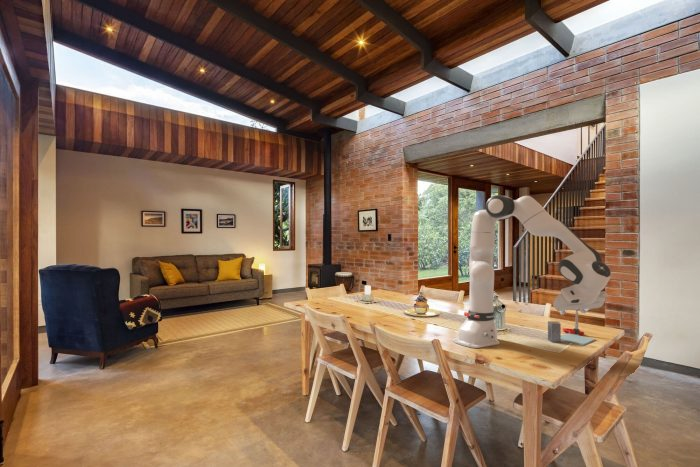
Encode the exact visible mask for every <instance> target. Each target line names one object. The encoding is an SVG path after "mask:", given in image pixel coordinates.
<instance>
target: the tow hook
mask: <svg viewBox="0 0 700 467" xmlns="http://www.w3.org/2000/svg"><path fill="white" fill-rule="evenodd" d="M562 332H567V333H570V334H574V335H584V334H585V331H582V330H580V329H579V309H577V310H575V323H574V328H562Z"/></svg>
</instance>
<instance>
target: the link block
mask: <svg viewBox="0 0 700 467" xmlns="http://www.w3.org/2000/svg"><path fill="white" fill-rule="evenodd" d="M561 325H562V324H561V323H560V322H558V321H549V320H548V321H547V340H548V341H549V342H551V343H561V341H562V340H561V336H562V335H561V331H562V330H561V328H562V326H561Z"/></svg>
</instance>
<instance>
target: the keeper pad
mask: <svg viewBox="0 0 700 467" xmlns="http://www.w3.org/2000/svg"><path fill="white" fill-rule="evenodd" d="M561 341H562V342H567V343H571V344H576V345H581V346H586V345H587V344H590V343H592V342H594V341H596V338H593V337H588V336H582V335H580V334H573V333H569V332H567V333H565V334H563V335H561Z"/></svg>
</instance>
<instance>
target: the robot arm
mask: <svg viewBox="0 0 700 467" xmlns="http://www.w3.org/2000/svg"><path fill="white" fill-rule="evenodd" d="M513 217H515V218H516V219H517V220H518V221H519V222H520V223H521V225H522V226H523V227H524V228H525V230H526V231H527V232H529V234H531V235H533V236H536V237H553V238H556V239H559V240H560V241H561V242H562V243H564V245H566V247H568V249H570V251H572V254H570V255H568V256H566V257H564V258H563V259H560V260H559V262H558V265H557V269H558V272H559V274H560V275H561V276H562V278H564V279H566V280H567V281H569V282H571V283H573V285H570V286H568V287H564V288H561V289H560V293H559V294H558V295H557V296H556V297H555V299H554V301H553V303H552V306H553V307H554V309H555V310H556V311H557V312H559V314H560V315H561V316H564V315H565V314H566V311H573V310H575V311H576V310H577V309H578V310H579V311H580V313H581V314H586V313H587V312H588V311H590V310H592V309H600V308H602V306H603V305H604V304H605V301H606V298H607V296H608V292H607V291H603V290H604V289H605V287H606V286H607V284H608V283H609V280H610V279H611V276H612V271H611V269H610V267H609V266H608V265H607V264H606V263H604V262H603V260H602V256H601V255H600V253H599V251H597V250H596V249H594V248H593V247H592V246H590V245H588V243H586V242H585V241H584V240H583V239H582V238H581V237H579V236H578V235H577V234H576V233H575V232H574V231H573V230H572V229H571V228H570V227H569V226H567V225H566V224H565V223H564V222H562V221H561V220H558V219H555V218H554V217H553V216H552V215H551V214H549V213H548V211H547V210H546V208H544V207H543V206H542V205H541V204H540V203H539V202H538V200H536V199H535V198H534V197H532V196H530V195H523V196H521V197H519V198H517V199H513V198H512V197H509V196H507V195H501V194H496V195H493V196H491V197H490V198H488V199H487V201H486V202H485V209H479V210H477V211H476V212H474V214H473V217H472V221H471V228H470V244H469V245H470V246H469V263H468V273H469V297H468V298H469V308H468V309H469V310H468V311H467V312H466V311H464V312H463V316H464V317H466V319H465V320H464V321H463V323H462V324H461V326H459V327H458V330H457V336H455V337H454V338H452V342H453V343H455V344H458V345H461V346H464V347H467V348H473V349H479V348H485V347H486V348H487V347H489V346H490V347H491V346H496V345H500V344H501V343H500V341H499V340H498V331H497V325H496V323H495V317H496V316H495V315H496V314H495V311H494V290H495V288H494V287H495V270H494V267H493V263H494V252H495V243H496V242H495V239H496V224H497V222H499V221H503V220H508V219H510V218H513Z"/></svg>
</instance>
